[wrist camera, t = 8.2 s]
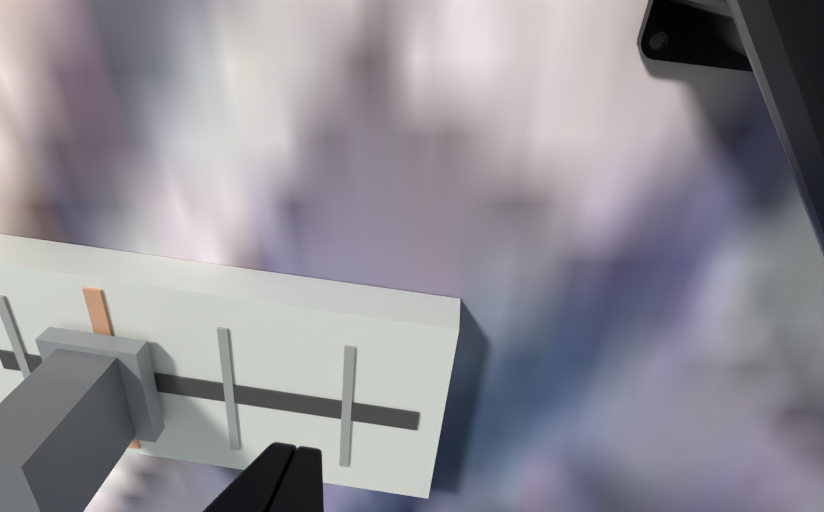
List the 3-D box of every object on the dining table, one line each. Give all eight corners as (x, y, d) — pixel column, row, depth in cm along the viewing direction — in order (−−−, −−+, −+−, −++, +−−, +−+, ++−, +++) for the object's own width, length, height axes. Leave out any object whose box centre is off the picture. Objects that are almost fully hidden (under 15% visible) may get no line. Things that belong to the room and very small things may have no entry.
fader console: (460, 298, 21) (458, 332, 19) (431, 462, 26) (428, 500, 24) (-20, 231, 22) (-65, 257, 20) (42, 403, 27) (11, 436, 25)
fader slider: (146, 340, 21) (44, 464, 16) (164, 427, 23) (80, 558, 18) (49, 326, 21) (-83, 444, 16) (77, 414, 24) (-29, 539, 19)
